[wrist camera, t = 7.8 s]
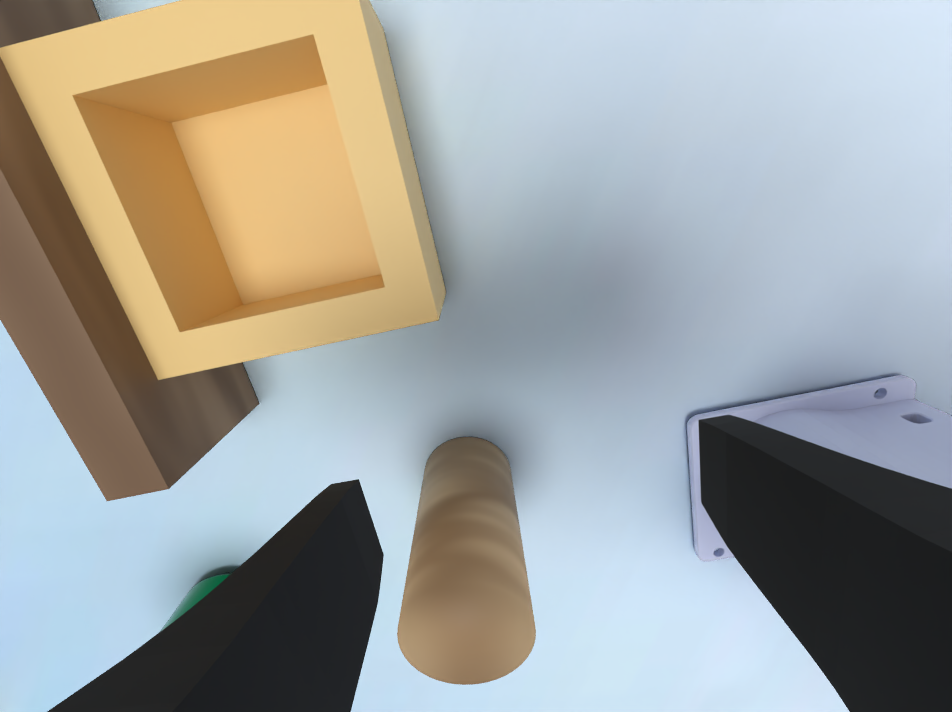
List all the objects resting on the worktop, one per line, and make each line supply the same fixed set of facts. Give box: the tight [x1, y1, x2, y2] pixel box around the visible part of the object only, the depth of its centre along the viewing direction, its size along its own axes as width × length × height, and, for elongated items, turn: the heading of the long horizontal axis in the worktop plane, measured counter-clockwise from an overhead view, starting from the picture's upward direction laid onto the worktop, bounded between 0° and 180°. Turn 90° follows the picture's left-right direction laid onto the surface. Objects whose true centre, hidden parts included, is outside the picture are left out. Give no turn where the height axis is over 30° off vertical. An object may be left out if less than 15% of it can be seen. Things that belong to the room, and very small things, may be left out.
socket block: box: [0, 0, 446, 380], centre depth 14 cm, size 9×9×4 cm
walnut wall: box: [0, 0, 259, 501], centre depth 14 cm, size 2×15×6 cm, turn 12°
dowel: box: [397, 437, 536, 685], centre depth 16 cm, size 4×4×8 cm
